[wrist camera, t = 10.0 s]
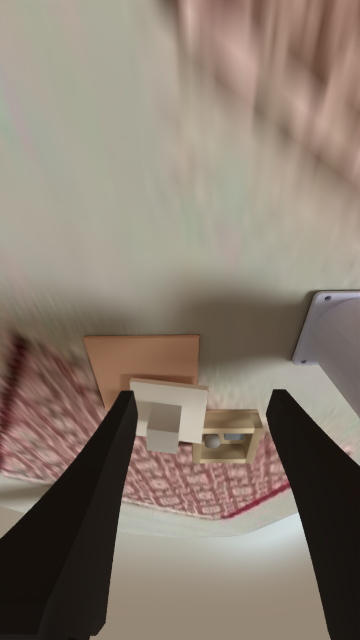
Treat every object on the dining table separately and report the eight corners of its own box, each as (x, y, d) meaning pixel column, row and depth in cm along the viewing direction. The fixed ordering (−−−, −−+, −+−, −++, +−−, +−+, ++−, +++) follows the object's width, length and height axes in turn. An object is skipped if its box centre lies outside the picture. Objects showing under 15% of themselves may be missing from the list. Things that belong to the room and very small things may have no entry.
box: (257, 409, 27) (263, 428, 25) (247, 444, 31) (252, 463, 29) (192, 410, 27) (193, 428, 25) (191, 444, 31) (192, 463, 29)
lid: (208, 380, 23) (208, 417, 19) (201, 432, 26) (200, 473, 22) (133, 372, 23) (118, 405, 19) (136, 424, 27) (123, 462, 23)
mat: (198, 334, 21) (199, 337, 20) (196, 407, 27) (196, 410, 26) (84, 336, 21) (83, 338, 21) (107, 408, 27) (106, 410, 26)
